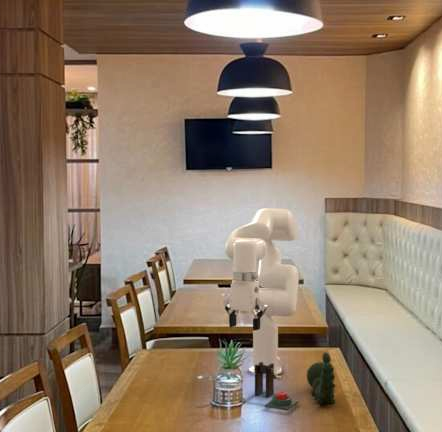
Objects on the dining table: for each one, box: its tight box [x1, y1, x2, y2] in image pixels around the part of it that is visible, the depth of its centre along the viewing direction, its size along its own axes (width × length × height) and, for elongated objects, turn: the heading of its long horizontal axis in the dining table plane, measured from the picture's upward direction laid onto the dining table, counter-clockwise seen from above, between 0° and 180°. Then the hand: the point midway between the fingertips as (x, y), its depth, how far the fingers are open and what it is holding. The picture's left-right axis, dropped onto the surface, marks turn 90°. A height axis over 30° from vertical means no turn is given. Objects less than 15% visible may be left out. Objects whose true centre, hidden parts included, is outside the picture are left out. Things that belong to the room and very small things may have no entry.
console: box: [264, 394, 299, 411], centre depth 214 cm, size 9×8×4 cm
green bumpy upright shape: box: [306, 352, 336, 406], centre depth 223 cm, size 9×19×25 cm
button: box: [276, 391, 288, 400], centre depth 214 cm, size 3×3×2 cm
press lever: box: [259, 365, 283, 381], centre depth 227 cm, size 12×5×2 cm, turn 155°
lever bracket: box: [254, 362, 275, 399], centre depth 223 cm, size 12×9×12 cm
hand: (244, 328), depth 222 cm, fingers open, 9 cm apart
